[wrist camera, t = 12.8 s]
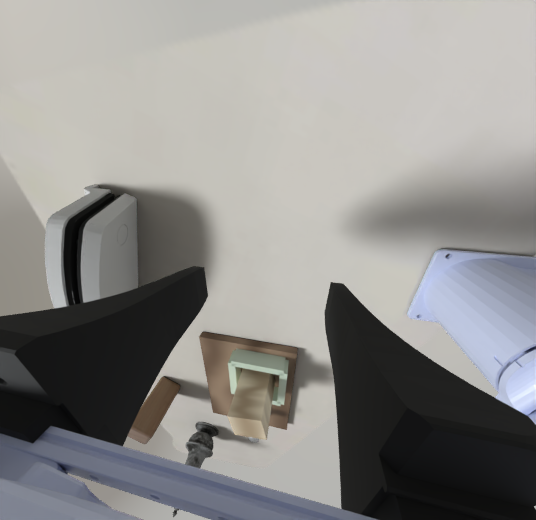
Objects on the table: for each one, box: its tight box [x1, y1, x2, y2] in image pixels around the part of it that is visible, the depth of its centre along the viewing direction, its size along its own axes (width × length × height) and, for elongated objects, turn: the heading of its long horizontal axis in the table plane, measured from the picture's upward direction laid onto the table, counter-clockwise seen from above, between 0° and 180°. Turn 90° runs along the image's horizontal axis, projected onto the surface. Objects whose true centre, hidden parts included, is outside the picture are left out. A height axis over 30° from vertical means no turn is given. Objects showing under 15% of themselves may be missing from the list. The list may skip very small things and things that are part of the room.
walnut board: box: [199, 332, 297, 430], centre depth 31 cm, size 14×20×1 cm
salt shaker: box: [173, 422, 218, 517], centre depth 37 cm, size 6×6×12 cm
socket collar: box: [228, 348, 289, 406], centre depth 27 cm, size 8×8×2 cm
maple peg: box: [227, 368, 275, 440], centre depth 25 cm, size 4×4×7 cm
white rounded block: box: [45, 185, 138, 308], centre depth 21 cm, size 17×5×10 cm, turn 162°
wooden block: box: [128, 377, 180, 444], centre depth 33 cm, size 4×4×8 cm
